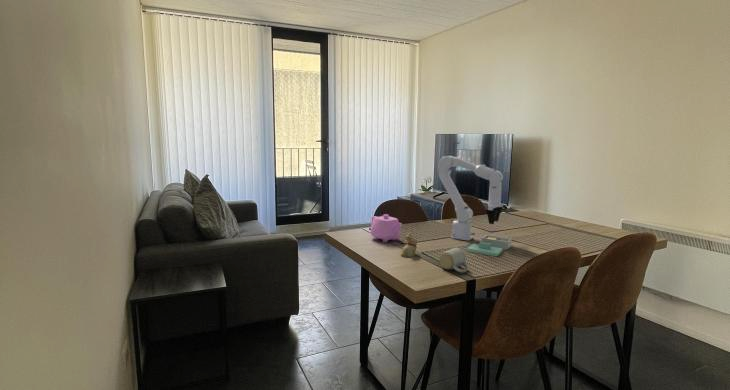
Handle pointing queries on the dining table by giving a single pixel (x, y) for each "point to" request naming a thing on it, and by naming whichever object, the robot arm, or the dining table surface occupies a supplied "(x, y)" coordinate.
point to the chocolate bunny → (409, 246)
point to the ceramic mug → (453, 260)
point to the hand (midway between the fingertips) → (493, 222)
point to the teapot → (385, 228)
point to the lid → (485, 249)
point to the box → (497, 241)
